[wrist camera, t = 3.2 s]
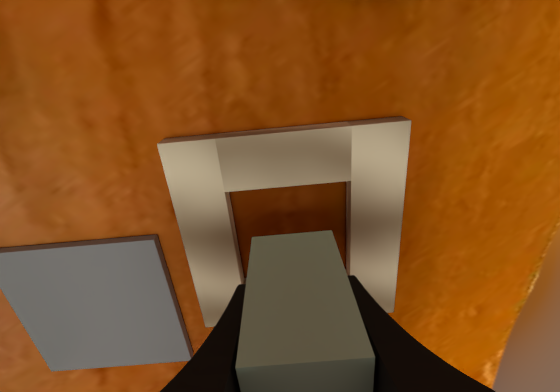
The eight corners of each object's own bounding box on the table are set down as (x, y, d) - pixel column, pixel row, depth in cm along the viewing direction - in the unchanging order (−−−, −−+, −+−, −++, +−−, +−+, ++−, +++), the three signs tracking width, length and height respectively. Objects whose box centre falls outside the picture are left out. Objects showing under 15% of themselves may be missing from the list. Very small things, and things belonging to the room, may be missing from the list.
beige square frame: (387, 299, 22) (393, 312, 20) (209, 313, 22) (205, 327, 21) (402, 116, 16) (411, 120, 15) (164, 138, 16) (156, 144, 15)
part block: (332, 292, 17) (370, 437, 10) (261, 298, 17) (252, 446, 10) (331, 230, 15) (375, 357, 8) (251, 237, 15) (235, 367, 9)
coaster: (193, 353, 24) (191, 360, 23) (56, 364, 24) (51, 371, 23) (157, 234, 19) (153, 239, 18) (-12, 249, 19) (-21, 254, 19)
